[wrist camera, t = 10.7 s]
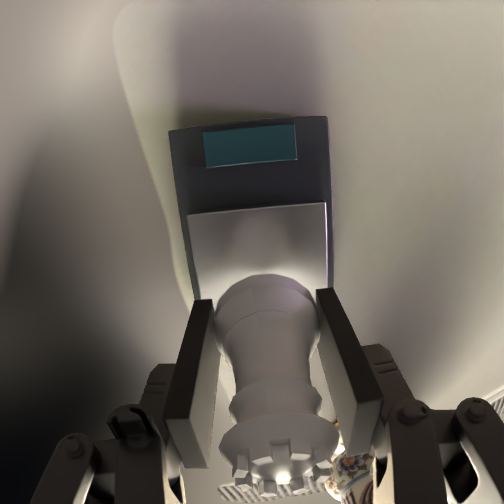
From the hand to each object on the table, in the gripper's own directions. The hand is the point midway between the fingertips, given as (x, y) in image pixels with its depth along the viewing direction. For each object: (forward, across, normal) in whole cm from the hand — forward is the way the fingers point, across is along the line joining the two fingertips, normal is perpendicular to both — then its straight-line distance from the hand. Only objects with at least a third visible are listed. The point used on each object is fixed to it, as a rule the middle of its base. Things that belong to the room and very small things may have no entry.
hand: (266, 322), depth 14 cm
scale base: (+9, 0, +2) cm, 9 cm away
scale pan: (+6, 0, 0) cm, 6 cm away
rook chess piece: (0, 0, 0) cm, 1 cm away
